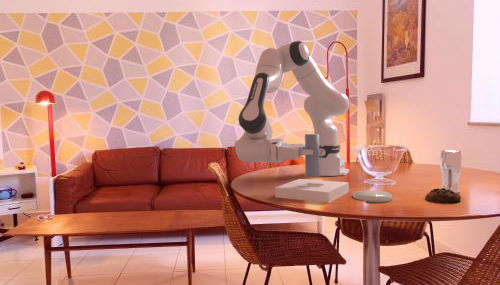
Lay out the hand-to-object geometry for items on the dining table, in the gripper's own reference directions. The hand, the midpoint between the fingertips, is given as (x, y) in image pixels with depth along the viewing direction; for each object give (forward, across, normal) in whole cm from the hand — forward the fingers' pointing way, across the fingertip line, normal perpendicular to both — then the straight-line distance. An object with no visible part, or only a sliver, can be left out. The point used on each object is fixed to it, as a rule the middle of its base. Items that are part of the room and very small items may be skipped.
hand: (314, 151), depth 145 cm
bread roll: (+42, -2, -17) cm, 46 cm away
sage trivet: (+20, 0, -16) cm, 26 cm away
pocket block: (-1, 0, -16) cm, 16 cm away
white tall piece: (+47, -17, -17) cm, 53 cm away
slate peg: (-1, 0, -9) cm, 9 cm away
